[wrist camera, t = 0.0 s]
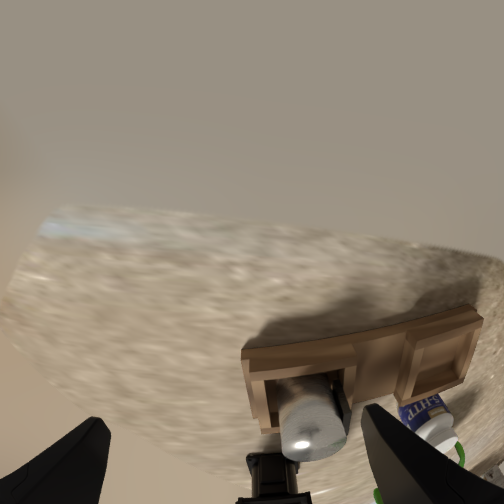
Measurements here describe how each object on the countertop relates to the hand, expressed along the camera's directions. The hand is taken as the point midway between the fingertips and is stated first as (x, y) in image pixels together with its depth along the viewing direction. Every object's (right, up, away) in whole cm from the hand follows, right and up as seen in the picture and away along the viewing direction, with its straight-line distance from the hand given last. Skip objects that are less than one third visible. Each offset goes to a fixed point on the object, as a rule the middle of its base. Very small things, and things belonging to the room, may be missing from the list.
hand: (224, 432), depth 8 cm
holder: (+12, -5, +17) cm, 22 cm away
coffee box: (+84, -72, +38) cm, 117 cm away
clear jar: (+6, -6, +16) cm, 18 cm away
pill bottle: (+20, -12, +19) cm, 30 cm away
